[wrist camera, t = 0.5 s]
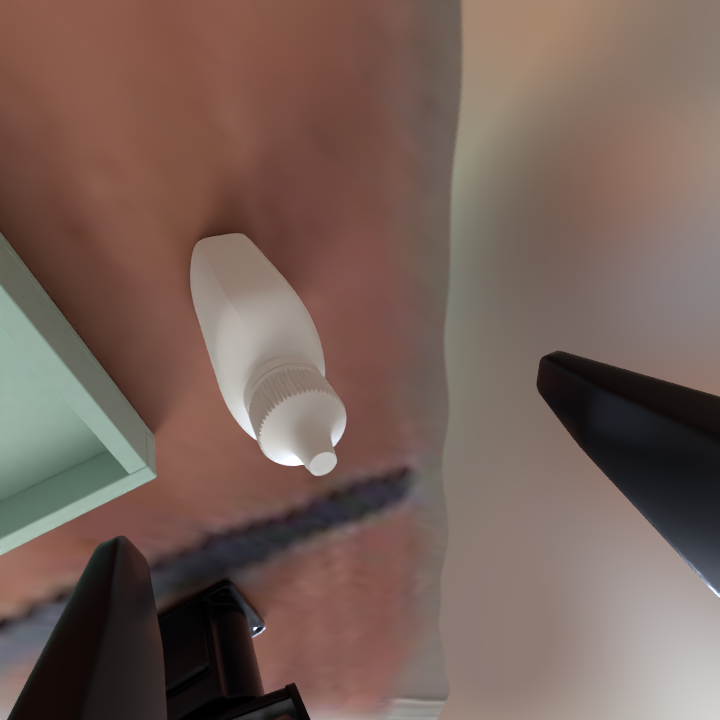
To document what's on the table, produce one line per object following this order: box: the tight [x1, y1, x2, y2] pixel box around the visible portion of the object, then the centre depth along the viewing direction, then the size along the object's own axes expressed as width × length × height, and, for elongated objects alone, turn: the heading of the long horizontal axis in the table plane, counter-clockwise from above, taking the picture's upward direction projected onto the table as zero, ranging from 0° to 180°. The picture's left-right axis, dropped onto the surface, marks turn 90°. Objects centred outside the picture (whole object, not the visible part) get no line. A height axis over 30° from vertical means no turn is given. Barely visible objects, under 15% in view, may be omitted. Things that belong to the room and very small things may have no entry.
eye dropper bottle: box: [190, 233, 347, 476], centre depth 15 cm, size 4×6×12 cm
